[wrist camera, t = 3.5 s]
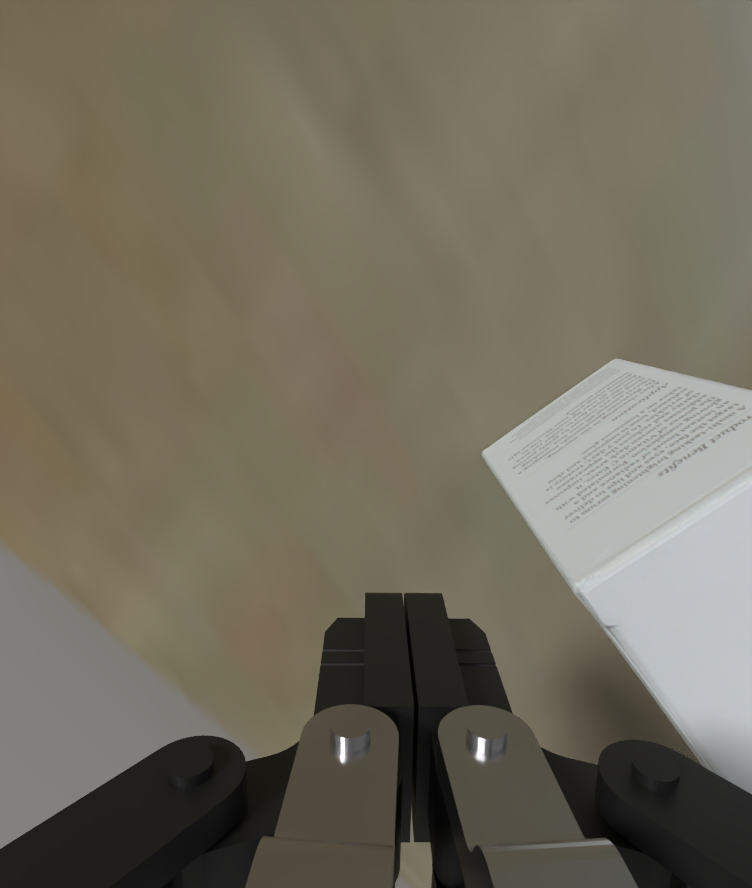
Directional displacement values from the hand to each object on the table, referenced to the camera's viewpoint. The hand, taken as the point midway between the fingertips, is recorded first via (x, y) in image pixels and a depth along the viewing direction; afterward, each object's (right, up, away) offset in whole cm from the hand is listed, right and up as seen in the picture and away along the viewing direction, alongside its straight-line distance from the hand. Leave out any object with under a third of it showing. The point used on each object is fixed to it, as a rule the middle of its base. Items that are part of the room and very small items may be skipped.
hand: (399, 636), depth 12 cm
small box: (+8, +2, +10) cm, 12 cm away
